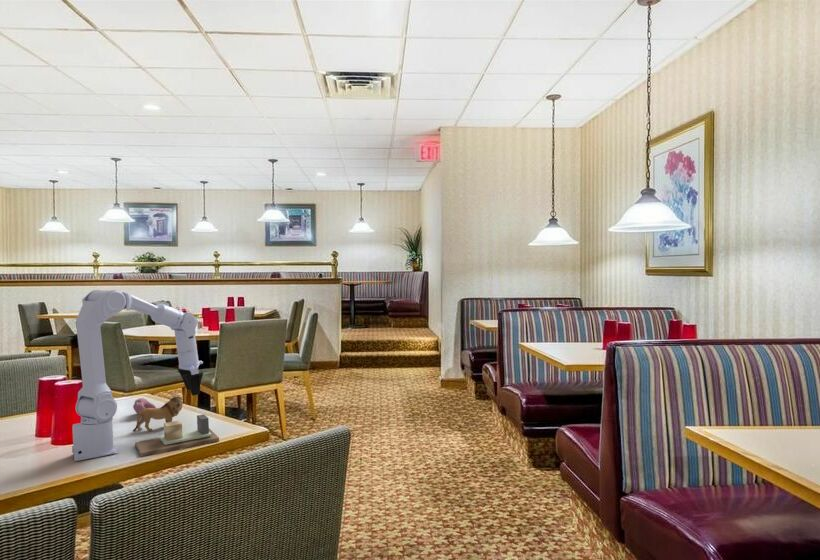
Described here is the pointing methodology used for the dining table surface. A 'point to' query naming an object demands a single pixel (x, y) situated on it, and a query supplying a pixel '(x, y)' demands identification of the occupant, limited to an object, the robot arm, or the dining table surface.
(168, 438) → the cube
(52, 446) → the dining table surface
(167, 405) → the lion figurine
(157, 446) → the board
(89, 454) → the robot arm
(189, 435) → the grey holder stand
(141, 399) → the pink purple rounded lump
